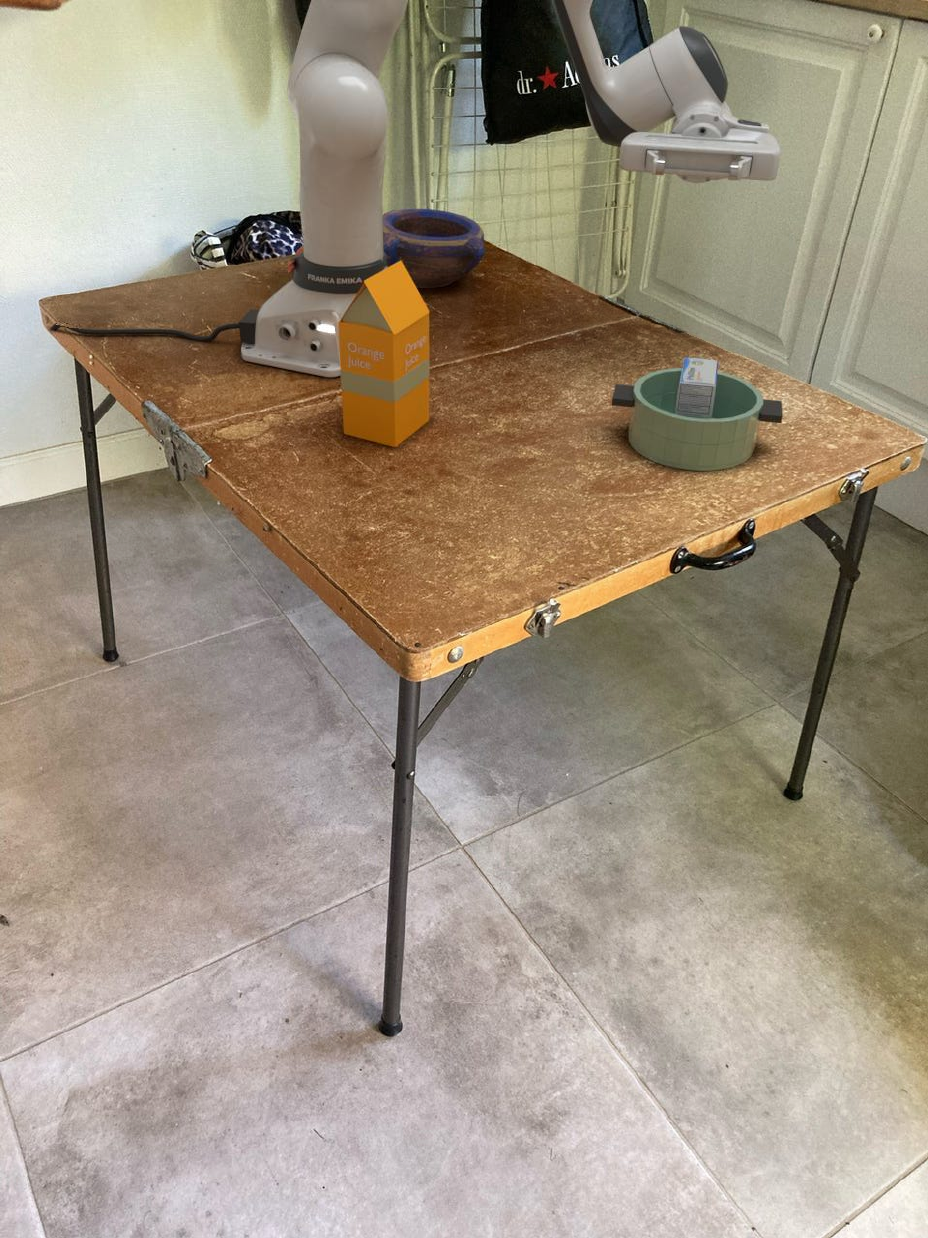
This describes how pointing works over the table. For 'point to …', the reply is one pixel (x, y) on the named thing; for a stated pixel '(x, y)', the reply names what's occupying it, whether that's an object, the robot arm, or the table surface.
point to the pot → (694, 423)
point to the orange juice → (385, 359)
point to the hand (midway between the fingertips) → (696, 170)
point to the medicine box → (697, 388)
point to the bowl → (432, 244)
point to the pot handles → (768, 414)
